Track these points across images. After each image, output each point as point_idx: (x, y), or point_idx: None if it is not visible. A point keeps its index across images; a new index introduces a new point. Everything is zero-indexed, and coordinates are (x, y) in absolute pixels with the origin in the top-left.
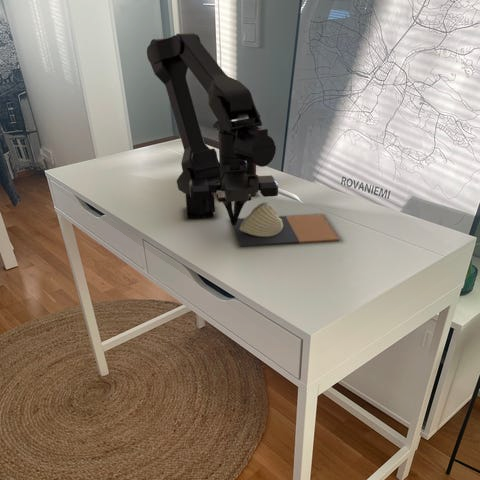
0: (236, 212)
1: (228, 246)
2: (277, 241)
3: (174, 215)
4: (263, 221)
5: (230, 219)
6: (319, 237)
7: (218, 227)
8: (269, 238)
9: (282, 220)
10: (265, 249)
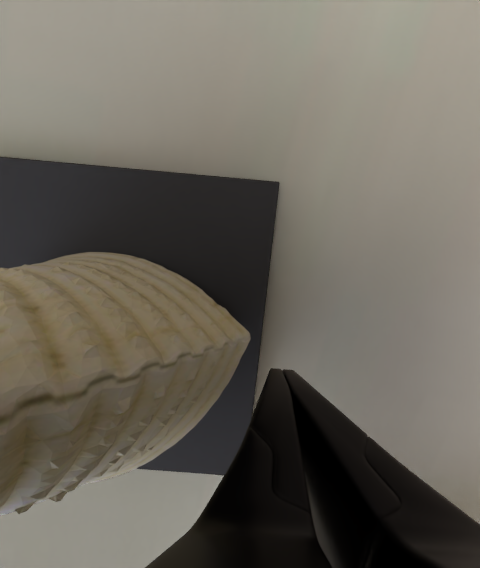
0: (286, 429)
1: (341, 206)
2: (52, 180)
3: None
4: (61, 287)
5: (319, 393)
6: None
7: None
8: (95, 231)
9: None
10: (141, 114)
